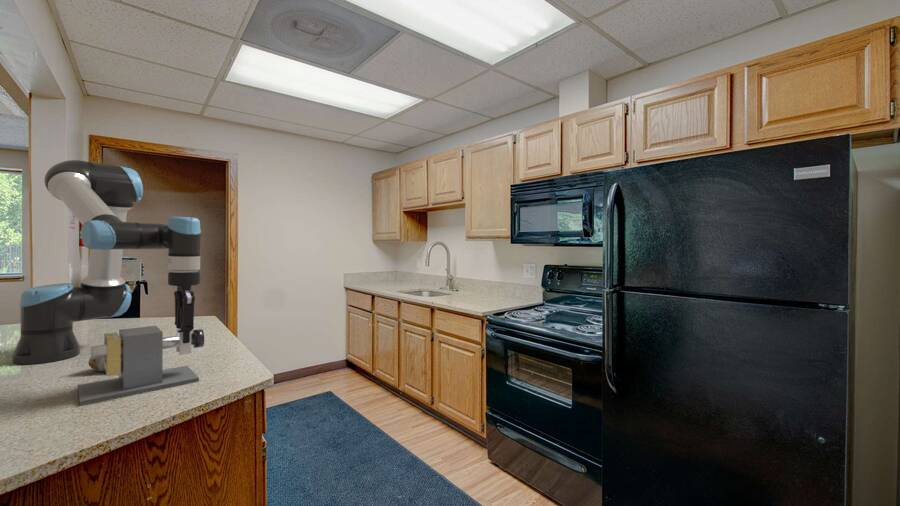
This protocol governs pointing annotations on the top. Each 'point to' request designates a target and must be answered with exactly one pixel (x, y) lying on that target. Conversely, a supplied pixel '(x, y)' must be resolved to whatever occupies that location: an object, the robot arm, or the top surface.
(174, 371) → the mat
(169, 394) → the top surface
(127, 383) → the bearing block
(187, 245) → the robot arm
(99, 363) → the mug
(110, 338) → the block
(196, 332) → the shaft
